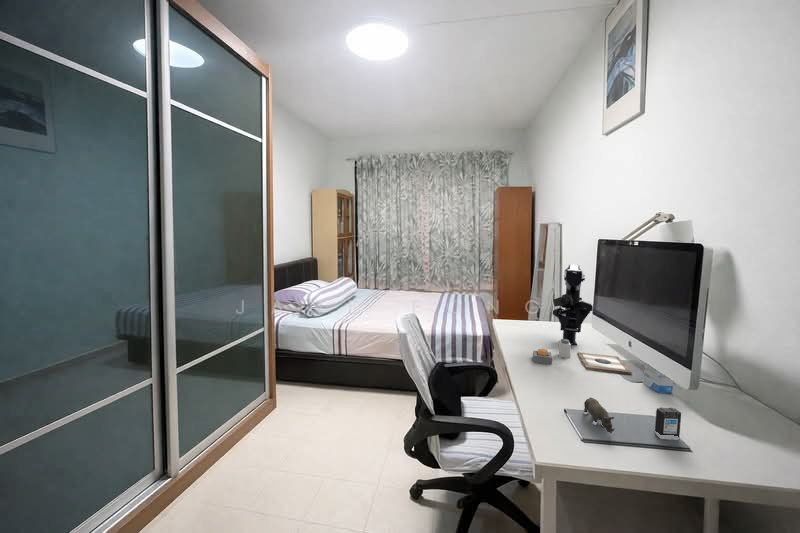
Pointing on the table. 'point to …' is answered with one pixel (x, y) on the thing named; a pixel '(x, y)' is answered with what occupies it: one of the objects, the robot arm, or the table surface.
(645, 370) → the ink box
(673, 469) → the table surface
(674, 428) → the ink cartridge
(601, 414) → the grey animal figure
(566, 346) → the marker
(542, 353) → the button
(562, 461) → the table surface
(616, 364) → the wooden picture frame
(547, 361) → the button housing
